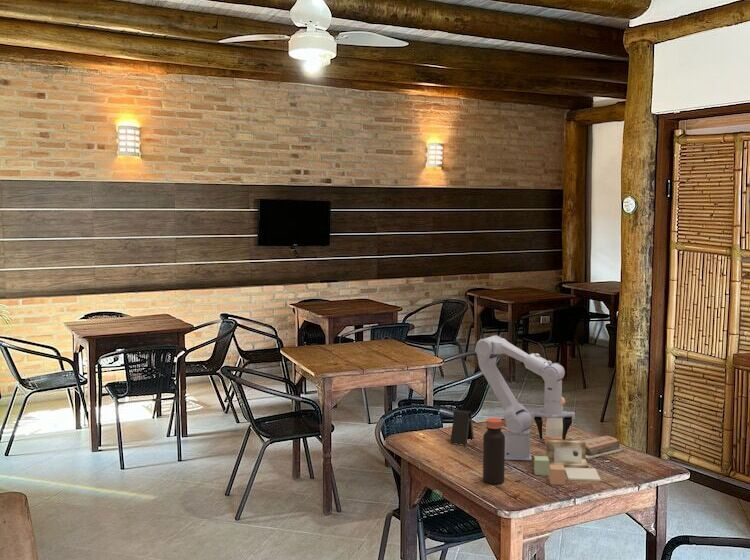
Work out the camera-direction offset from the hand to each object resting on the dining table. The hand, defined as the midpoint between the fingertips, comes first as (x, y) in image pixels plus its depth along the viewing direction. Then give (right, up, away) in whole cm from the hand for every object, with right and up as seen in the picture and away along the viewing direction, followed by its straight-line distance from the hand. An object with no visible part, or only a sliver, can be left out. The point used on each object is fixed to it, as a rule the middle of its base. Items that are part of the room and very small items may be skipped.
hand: (552, 438), depth 253 cm
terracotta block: (-2, -11, -16) cm, 19 cm away
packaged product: (+19, -8, +13) cm, 24 cm away
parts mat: (+7, -10, -10) cm, 16 cm away
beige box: (+5, -9, +1) cm, 10 cm away
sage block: (-5, -10, -7) cm, 13 cm away
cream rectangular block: (+5, -8, 0) cm, 9 cm away
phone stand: (-28, -7, +25) cm, 38 cm away
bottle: (-22, -11, -14) cm, 29 cm away
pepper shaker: (+6, -7, +21) cm, 23 cm away
